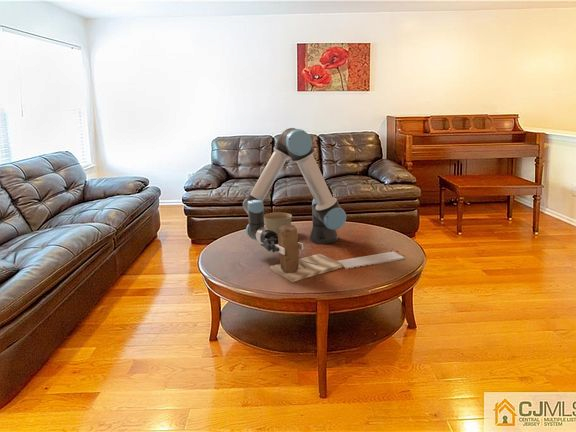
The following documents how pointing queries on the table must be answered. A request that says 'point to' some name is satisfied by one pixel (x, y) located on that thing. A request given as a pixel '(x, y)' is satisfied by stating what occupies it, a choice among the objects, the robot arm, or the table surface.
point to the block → (289, 248)
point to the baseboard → (371, 259)
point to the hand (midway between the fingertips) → (293, 249)
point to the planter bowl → (276, 221)
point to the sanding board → (309, 267)
